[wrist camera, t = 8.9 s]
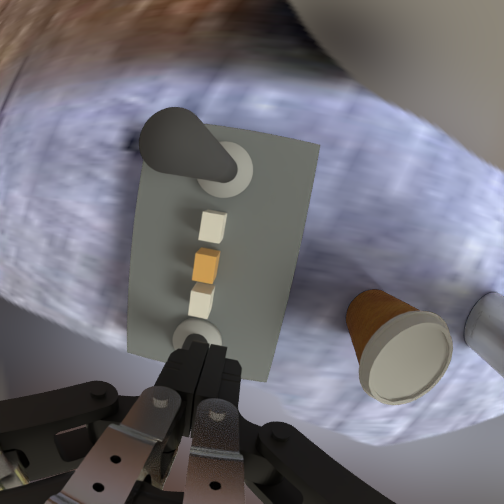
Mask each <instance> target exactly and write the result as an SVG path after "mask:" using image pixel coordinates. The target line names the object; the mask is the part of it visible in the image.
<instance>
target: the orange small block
mask: <svg viewBox="0 0 504 504" xmlns="http://www.w3.org/2000/svg"><path fill="white" fill-rule="evenodd" d="M219 257H220V251H218V250H213V249H208V248H202V247H201V248H200V249H199V250H198V251H197V252H196V254H195V261H194V268H193V276H192V280H194V281H198V282H203V283H208V284H213V282H214V280H215V278H216V275H217V269H218V263H219Z"/></svg>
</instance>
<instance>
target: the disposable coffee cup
mask: <svg viewBox="0 0 504 504" xmlns="http://www.w3.org/2000/svg"><path fill="white" fill-rule="evenodd" d="M346 323H347V326H348V330H349V333H350V336H351V339H352V343H353V346H354V349H355V352H356V356H357V359H358V362H359V380H360V383H361V385H362V387H363V390H364V391H365V392H366V393H367V394H368V395H369V396H371V397H372V398H374V399H376V400H378V401H380V402H381V403H384V404H388V405H401V404H405V403H409V402H411V401H414V400H416V399H418V398H420V397H421V396H423V395H424V394H426V393H427V392H429V391H430V390H431V389H432V388H433V387H434V386H435V385H436V384H437V383H438V382H439V380H440V379H441V378H442V377H443V375H444V373H445V372H446V370H447V368H448V366H449V363H450V361H451V357H452V351H453V343H452V338H451V336H450V332H449V329H448V326H447V324H446V323H445V321H444V320H443V319H442V318H441V317H440V316H438V315H436V314H435V313H432V312H428V311H420V310H418V309H417V308H415V307H413V306H411V305H409V304H407V303H405V302H403V301H401V300H399V299H397V298H395V297H393V296H391V295H389V294H387V293H386V292H384V291H382V290H377V289H372V290H367V291H365V292H363V293H361V294H359V295H358V296H357V297H356V298H355V299H354V300H353V301H352V302H351V304H350V305H349V307H348V310H347V314H346Z"/></svg>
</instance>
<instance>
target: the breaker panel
mask: <svg viewBox="0 0 504 504" xmlns="http://www.w3.org/2000/svg"><path fill="white" fill-rule="evenodd" d="M204 125H205V126H206V127H207V129H208V130H209V131H210V132H211V133H212V134H213V136H214V137H215V138H216V139H217V140H218V141H219V142H223V141H227V142H233V143H236V144H238V145H240V146H241V147H242V148H244V149H245V150H246V152H247V153H248V154H249V156H250V158H251V161H252V164H253V175H252V179H251V181H250V183H249V185H248V186H247V188H246V189H245V190H244V191H242V192H241V193H239V194H238V195H235V196H232V197H228V198H219V197H215V196H212V195H210V194H208V193H207V192H206V191H205V190H204V189H203V188H202V187H201V186H200V184H199V182H198V180H197V178H191V177H185V176H178V175H172V174H165V173H160V172H157V171H155V170H153V169H152V168H150V167H149V166H148V165H147V164H146V163H145V161H144V160H143V165H142V170H141V176H140V183H139V189H138V196H137V203H136V211H135V219H134V227H133V236H132V246H131V258H130V271H129V287H128V312H127V352H128V353H131V354H135V355H138V356H142V357H145V358H149V359H153V360H157V361H160V362H164V363H166V362H167V360H168V358H169V356H170V354H171V353H172V352H174V351H175V349H174V346H173V334H174V332H175V330H176V328H177V327H178V325H179V324H180V323H181V322H182V321H184V320H186V319H189V318H202V319H206V320H208V321H210V322H211V323H213V324H214V325H215V326H216V327H217V328H218V330H219V331H220V333H221V336H222V346H226V347H227V353H226V358H228V359H234V360H238V362H239V363H240V365H241V367H242V373H241V379H246V380H253V381H259V382H267V379H268V375H269V371H270V368H271V364H272V360H273V357H274V353H275V349H276V345H277V341H278V337H279V333H280V330H281V326H282V322H283V318H284V314H285V310H286V305H287V301H288V297H289V293H290V289H291V285H292V280H293V276H294V272H295V267H296V263H297V258H298V254H299V249H300V245H301V240H302V236H303V231H304V226H305V222H306V217H307V212H308V207H309V202H310V197H311V192H312V187H313V182H314V177H315V171H316V166H317V161H318V155H319V149H320V145H318V144H314V143H310V142H305V141H301V140H296V139H292V138H287V137H282V136H277V135H272V134H267V133H261V132H256V131H250V130H244V129H238V128H231V127H224V126H217V125H210V124H204ZM201 247H202V248H208V249H213V250H218V251H220V257H219V263H218V269H217V275H216V278H215V280H214V282H213V284H208V283H203V282H198V281H194V280H192V276H193V268H194V261H195V254H196V252H197V251H198V250H199V249H200V248H201Z"/></svg>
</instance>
